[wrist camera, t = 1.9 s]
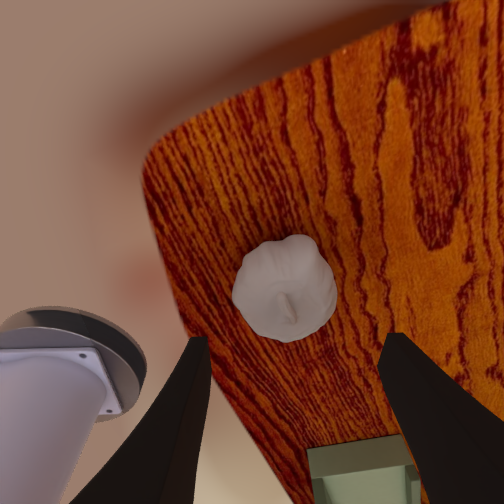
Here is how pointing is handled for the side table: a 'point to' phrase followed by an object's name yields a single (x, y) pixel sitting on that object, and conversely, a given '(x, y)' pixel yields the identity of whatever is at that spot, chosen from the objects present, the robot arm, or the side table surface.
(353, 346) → the side table surface
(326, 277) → the garlic
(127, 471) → the robot arm
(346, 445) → the tray
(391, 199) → the side table surface
